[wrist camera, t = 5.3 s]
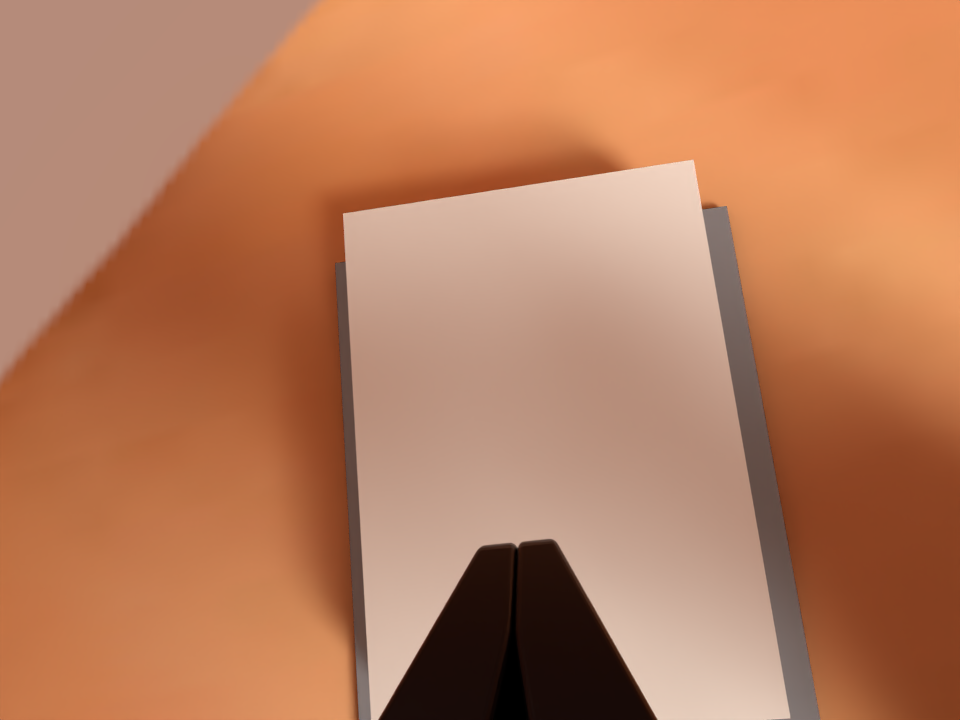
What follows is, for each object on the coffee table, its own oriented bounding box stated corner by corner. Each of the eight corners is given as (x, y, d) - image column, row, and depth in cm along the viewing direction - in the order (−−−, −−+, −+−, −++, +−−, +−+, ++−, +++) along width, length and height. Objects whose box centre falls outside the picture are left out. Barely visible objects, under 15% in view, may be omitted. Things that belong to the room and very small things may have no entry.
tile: (790, 718, 13) (693, 159, 15) (372, 746, 14) (343, 213, 16) (761, 690, 15) (681, 212, 18) (406, 716, 16) (376, 256, 19)
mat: (852, 918, 14) (858, 926, 14) (375, 936, 16) (371, 943, 15) (724, 211, 18) (727, 205, 18) (339, 267, 19) (335, 263, 19)
